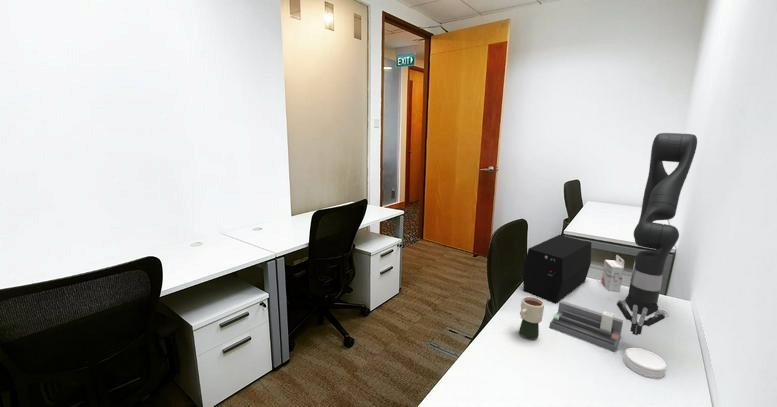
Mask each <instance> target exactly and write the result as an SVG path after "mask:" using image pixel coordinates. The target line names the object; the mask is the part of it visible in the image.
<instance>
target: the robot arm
mask: <svg viewBox="0 0 777 407" xmlns="http://www.w3.org/2000/svg"><path fill="white" fill-rule="evenodd" d="M697 147H698V137H697V135H696V134H692V133H676V132H675V133H674V132H661V133H658V134H656V135H655V137H654V139H653V142H652V145H651V151H650V161H649V169H648V170H649V171H648V177H647V178H646V183H645V187H644V193H643V198H642V204H641V212H640V215H639V221H638V223H637V225H635V228H634V230H633V238H634V244H636V245H637V247H641V248H646V249H651V250H641V251H639V252H637V254H636V255H635V258H634V263H633V268H632V273H631V278H630V283H629V289H628V294H627V296H626V297H625V299H623V300H617V301H616V306H617V307H618V309H619V311H620V312H621V314H622V315H623V317H624V318H625V320H627V321H629V322H631V325H630V333H631V334H632V335H634V336H638V335H641V334H642V330H643V327H644V326H645V327H651V326H653V325H655V324H657V323H659V322H661V321H663V320H664V319H665V318H666V313H665V312H662V311H661V310H660V309H659V305H658V302H659V296H660V292H661V288H662V283H663V274H664V268H665V264H666V261H667V259H668V257H669V255H670V253H671V252H672V250H673V248H674V247H675V246H676V245H677V242H678V240H679V238H680V231H679V230H678V228H677V227H676V226H675V225H671V224H665V223H661V222H660V223H659V222H656V221H668V220H669V221H670V220H673V218H674V217H675V216H676V213H677V208H678V205H679V204H678V203H679V201H680V195H681V191H682V189H683V186H684V184H685V182H686V180H687V177H688V174H689V172H690V168H691V166H692V164H693V160H694V158H695V154H696V152H697V151H696V150H697ZM663 162H668V163H669V162H670V163H678V164H677V166H676V168H675V169H674V170H673V171H671V173H669V174H668V172H667V171H666V169H665V167H664V163H663ZM627 307H628V308H627ZM628 309H629V310H630V311H631V312H632V313H630V312H629V310H628ZM631 314H632V315H631ZM652 314H654V316H651V317H650V318H648V319H646V317H648V316H650V315H652ZM638 315H639V320H638Z"/></svg>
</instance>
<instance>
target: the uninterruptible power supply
mask: <svg viewBox="0 0 777 407" xmlns="http://www.w3.org/2000/svg"><path fill="white" fill-rule="evenodd" d="M591 263H592V242H591V241H587V240H583V239H578V238H574V237H570V236H565V235H564V234H558V235H555V236H553V237H551V238H549V239H547V240H545V241H543V242H540V243H538V244H535V245H533V246H531V247H529V248H528V249H527V254H526V257H525V262H524V265H523V269H522V270H523V271H522V272H523V273H522V274H523V277H522V278H523V281H522V284H523V285H522V286H523V287H522V288H523V290H522V291H523V292H524V293H527V294H528V295H529V294H530V295H532V296H533V297H536V298H539V299H541V300H542V299H543V300H546V301H547V302H549V303H552V304H555V305H556V304H559V302H560V301H563V299H564V298H566V297H567V296H569V295H570V294H572V293H573V292H574V291H575V290H577V289H578V288H579V287H580V286H582V285H583V284H584V283H586V281H587V280H586V279H587V277H588V273H589V270H590V267H591Z"/></svg>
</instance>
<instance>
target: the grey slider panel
mask: <svg viewBox="0 0 777 407" xmlns="http://www.w3.org/2000/svg"><path fill="white" fill-rule="evenodd" d="M602 314H603V313H601V312H599V311H596V310H592V309H589V308H586V307H583V306H580V305H578V304H573V303H570V302H567V301H564V300H560V301H559V302H558V309H557V312H556V314H555V315H554V316H553V318H552V319H551V321H550V322H549V328H550V329H552V330H555V331H557V332H559V333H563V334H566V335H568V336H571V337H573V338H577V339H579V340H582V341H584V342H587V343H588V344H589V343H590V344H592V345H595V346H598V347H600V348H603V349H606V350H609V351H610V352H614V353H615V352H616V350H617V348H618V347H617V346H618V344H619V341H620V339H621V335H622V328H623V323H624V319H620V318H618V317H616V316H614V319H613V324H612V330H611V332H608V331H605V330H602V329H600V326H601V320H602Z"/></svg>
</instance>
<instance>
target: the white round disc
mask: <svg viewBox="0 0 777 407" xmlns="http://www.w3.org/2000/svg"><path fill="white" fill-rule="evenodd" d="M623 363H624V364H625V366H626V367H628V368H629V369H630V370H631V371H633V372H634V373H636V374H638V375H641V376H644V377H647V378H650V379H660V378H663V377H664V376H665V375H666V370H667V364H666V362H665V360H664V359H663V358H662V357H660V356H659V355H658V354H656V353H654V352H652V351H650V350H647V349H645V348H640V347H629V348H627V349H625V352H624V357H623Z"/></svg>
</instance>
